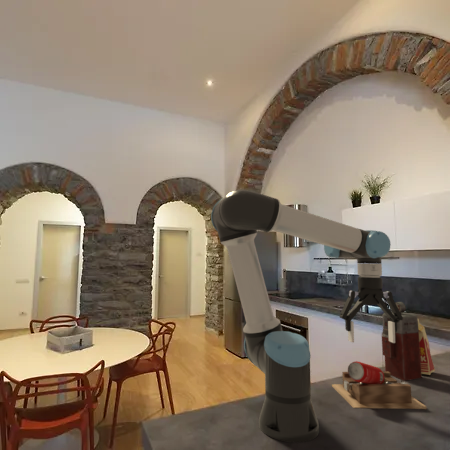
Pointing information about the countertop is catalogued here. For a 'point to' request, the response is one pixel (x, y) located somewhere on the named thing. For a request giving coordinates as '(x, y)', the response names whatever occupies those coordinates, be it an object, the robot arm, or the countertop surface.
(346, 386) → the plunger
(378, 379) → the beverage can
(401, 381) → the plunger
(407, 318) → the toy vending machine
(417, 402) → the holder
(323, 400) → the countertop surface
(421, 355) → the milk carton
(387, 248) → the robot arm
